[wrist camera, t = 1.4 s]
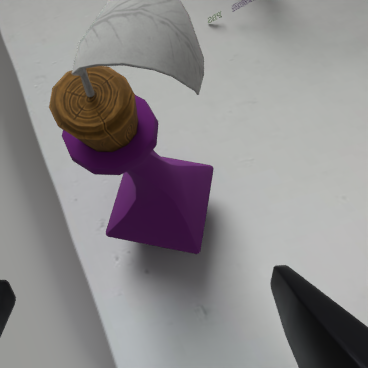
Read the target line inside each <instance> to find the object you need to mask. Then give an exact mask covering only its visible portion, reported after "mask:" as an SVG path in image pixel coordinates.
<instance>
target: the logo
mask: <svg viewBox="0 0 368 368" xmlns="http://www.w3.org/2000/svg"><path fill="white" fill-rule="evenodd" d="M244 1H245V0H244ZM247 1H248V0H247ZM250 1H251V0H250ZM253 1H254V0H253ZM245 2H246V1H245ZM248 2H249V1H248ZM251 2H252V1H251ZM243 3H244V2H243ZM246 3H247V2H246ZM249 3H250V2H249ZM236 4H237V3H236ZM244 4H245V3H244ZM247 4H248V3H247ZM234 5H235V4H234ZM237 5H238V4H237ZM242 5H243V4H242ZM245 5H246V4H245ZM232 6H233V5H232ZM235 6H236V5H235ZM243 6H244V5H243ZM233 7H234V6H233ZM236 7H237V6H236ZM241 7H242V6H241ZM234 8H235V7H234ZM232 9H233V8H232ZM235 9H236V8H235ZM233 10H234V9H233ZM234 11H235V10H234ZM232 12H233V11H232ZM218 13H219V14H220V15H218ZM218 13H217V16H220V17H222V16H221V11H220V12H218ZM214 15H215V17H213V16H214ZM214 15H213V16H212V17H209V18H210V20H211V19H212V18H213V19H212V20H213V21H215V20H217V19H216V14H214ZM220 17H219V18H220ZM209 18H208V19H209ZM214 18H215V20H214ZM210 20H208V23H211V22H212V20H211V22H209V21H210Z"/></svg>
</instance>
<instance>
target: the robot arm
mask: <svg viewBox="0 0 368 368" xmlns="http://www.w3.org/2000/svg"><path fill="white" fill-rule="evenodd" d="M271 290H272V293H273V296H274V300H275V303H276V306H277V309H278V313H279V316H280V319H281V322H282V325H283V329H284V332H285V335H286V337H287V340H288V343H289V345H290V347H291V350H292V352H293V355H294V357H295V359H296V362H297V364H298V367H299V368H368V327H367V326H366V325H364V324H363V323H362V322H360V321H359V320H358V319H356V318H355V317H354V316H353V315H351V314H350V313H349V312H347V311H346V310H345V309H343V308H342V307H341V306H339V305H338V304H337V303H336V302H334V301H333V300H332V299H330V298H329V297H328V296H326V295H325V294H324V293H323V292H321V291H320V290H319V289H317V288H316V287H315V286H313V285H312V284H311V283H309V282H308V281H307V280H306V279H304V278H303V277H302V276H300V275H299V274H298V273H296V272H295V271H294V270H292V269H291V268H290V267H288V266H286V265H279V266H275V267H274V269H273V273H272V278H271ZM15 301H16V297H15V295H14V292H13V290H12V288H11V286H10V284H9V282H8V281H6V280H0V336H1V334H2V332H3V330H4V328H5V325H6V323H7V321H8V318H9V316H10V314H11V312H12V309H13V307H14V305H15Z"/></svg>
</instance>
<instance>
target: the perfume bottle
mask: <svg viewBox="0 0 368 368" xmlns="http://www.w3.org/2000/svg"><path fill="white" fill-rule="evenodd" d="M116 65H125V66H131V67H137V68H143V69H149V70H155V71H157V72H160V73H163V74H166V75H169V76H172V77H173V78H175V79H176V80H178V81H180V82H181V83H183V84H184V85H186V86H187V87H189V88H191V89H192V90H194V91H195V92H196V94H197V95H199V92H200V88H201V84H202V80H203V76H204V57H203V54H202V51H201V48H200V45H199V43H198V40H197V37H196V34H195V31H194V28H193V25H192V22H191V19H190V16H189V14H188V12H187V11H186V9H185V7H184V6H183V4H182V2H181V0H109V1H108V2H107V4H106V5H105V7H104V8H103V9H102V11H101V12H100V14H99V15H98V17H97V18H96V20H95V21H94V22H93V24H92V25H91V27H90V28H89V29H88V31H87V32H86V34H85V35H84V36H83V38H82V39H81V41H80V42H79V44H78V48H77V53H76V57H75V61H74V65H73V69H72V71H69V72H67V73H66V74H65V75H64V76H63V77H62V78H61V79H60V80H59V81H58V82H57V83H56V85H55V86H54V87H53V88H52V94H51V100H50V105H49V108H50V110H51V112H52V115H53V117H54V119H55V121H56V123H57V125H58V126H59V127H60V128H62V129H63V133H62V137H63V140H64V142H65V144H66V147H67V149H68V151H69V154H70V156H71V158H72V160H73V161H74V162H76V163H77V164H79V165H81V166H82V167H84V168H85V169H87V170H88V171H90V172H92V173H93V174H102V175H121V174H123V173H124V174H123V177H122V180H121V184H120V187H119V190H118V193H117V197H116V200H115V203H114V207H113V210H112V213H111V216H110V220H109V223H108V226H107V230H106V235H107V236H108V237H113V238H118V239H123V240H128V241H133V242H139V243H144V244H149V245H154V246H159V247H164V248H169V249H174V250H179V251H184V252H189V253H194V254H199V253H200V251H201V244H202V238H203V232H204V225H205V219H206V213H207V207H208V200H209V194H210V188H211V181H212V175H213V167H212V166H211V165H206V164H200V163H194V162H189V161H183V160H177V159H172V158H166V157H160V156H159V155H158V154H157V153H156V152H155V151H154V150H153V149H154V148H155V146H156V144H157V133H158V121H157V119H156V117H155V116H154V114H153V112H152V110H151V109H150V107H149V105H148V104H147V102H146V101H145V100H144V99H142V98H140V97H138V96H136V95H135V94H134V93H133V91H132V89H131V87H130V85H129V83H128V81H127V79H126V78H125V77H124V76H122V75H120V74H119V73H117V72H116V71H114V70H113V69H111V68H110V67H106V66H116Z"/></svg>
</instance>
